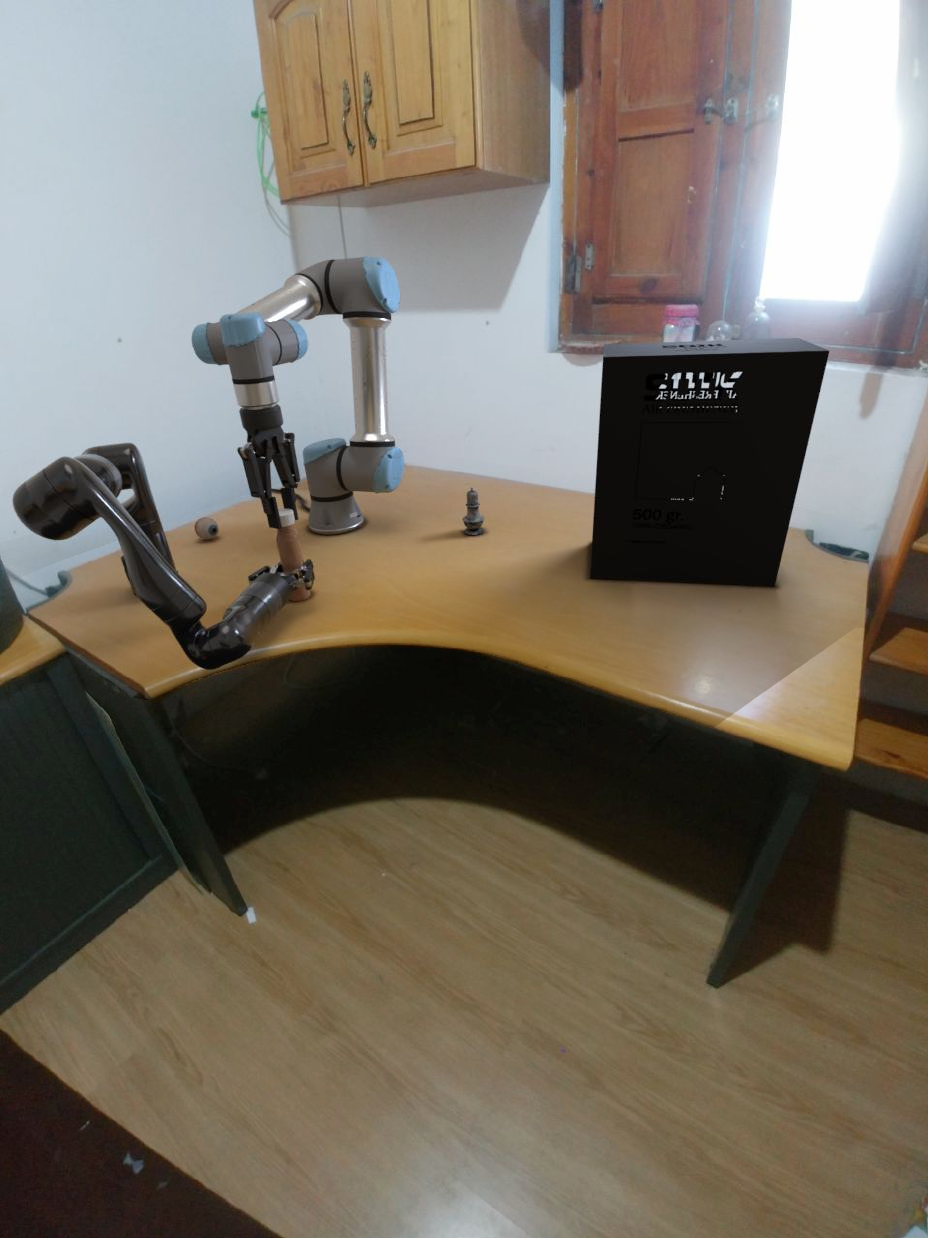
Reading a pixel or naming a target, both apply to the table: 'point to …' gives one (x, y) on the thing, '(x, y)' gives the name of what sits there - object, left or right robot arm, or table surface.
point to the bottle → (291, 556)
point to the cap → (286, 517)
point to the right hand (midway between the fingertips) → (284, 523)
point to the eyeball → (206, 528)
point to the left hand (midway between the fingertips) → (298, 562)
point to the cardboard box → (701, 458)
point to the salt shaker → (473, 515)
